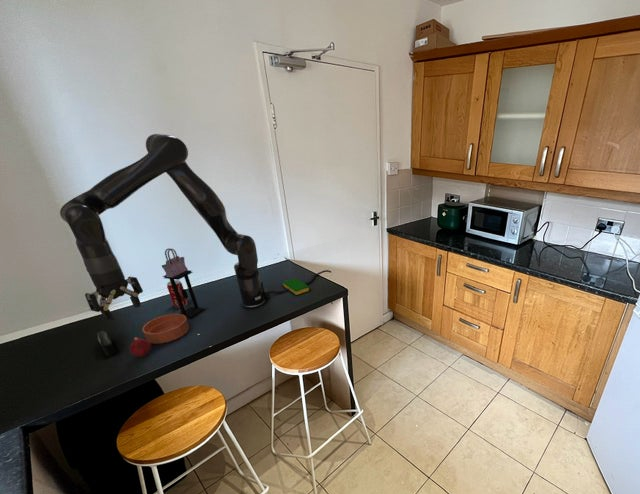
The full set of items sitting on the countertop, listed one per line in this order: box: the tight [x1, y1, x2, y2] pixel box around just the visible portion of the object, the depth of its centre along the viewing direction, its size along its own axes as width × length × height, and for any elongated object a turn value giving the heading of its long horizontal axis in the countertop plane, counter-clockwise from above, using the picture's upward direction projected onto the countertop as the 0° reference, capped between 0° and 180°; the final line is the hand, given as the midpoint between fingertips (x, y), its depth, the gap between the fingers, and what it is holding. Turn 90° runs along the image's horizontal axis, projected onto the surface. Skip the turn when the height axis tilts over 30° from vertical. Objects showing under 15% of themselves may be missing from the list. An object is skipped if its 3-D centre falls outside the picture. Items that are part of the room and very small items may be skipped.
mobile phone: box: [96, 330, 117, 356], centre depth 115 cm, size 5×3×15 cm
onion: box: [129, 336, 152, 358], centre depth 110 cm, size 6×6×8 cm
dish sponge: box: [282, 277, 310, 296], centre depth 159 cm, size 7×14×2 cm, turn 44°
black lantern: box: [161, 247, 206, 319], centre depth 131 cm, size 10×8×30 cm
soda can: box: [166, 279, 189, 309], centre depth 141 cm, size 6×6×12 cm
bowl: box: [141, 313, 190, 345], centre depth 123 cm, size 14×14×5 cm
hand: (124, 312), depth 104 cm, fingers open, 8 cm apart
